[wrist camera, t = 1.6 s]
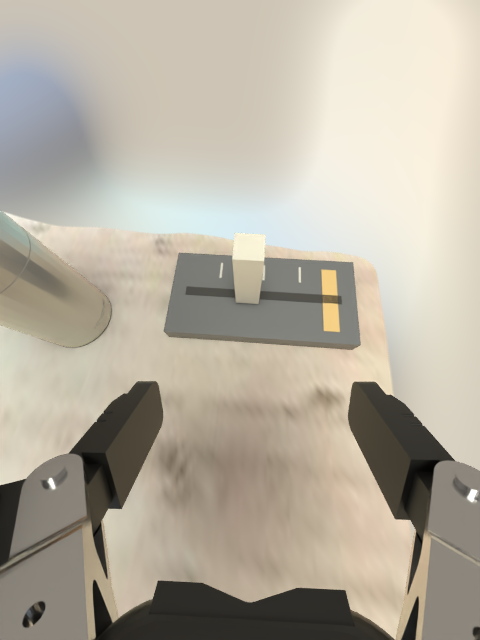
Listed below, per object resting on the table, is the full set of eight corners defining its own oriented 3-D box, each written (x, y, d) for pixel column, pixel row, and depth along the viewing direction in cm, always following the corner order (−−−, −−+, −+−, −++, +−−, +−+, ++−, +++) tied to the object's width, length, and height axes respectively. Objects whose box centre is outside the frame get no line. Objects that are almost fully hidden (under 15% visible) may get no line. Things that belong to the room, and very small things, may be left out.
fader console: (169, 336, 34) (163, 331, 31) (182, 262, 38) (178, 252, 35) (352, 349, 33) (360, 344, 30) (346, 271, 37) (353, 262, 34)
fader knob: (235, 302, 32) (231, 259, 23) (237, 282, 33) (234, 233, 24) (258, 304, 32) (264, 261, 23) (260, 283, 33) (266, 234, 24)
